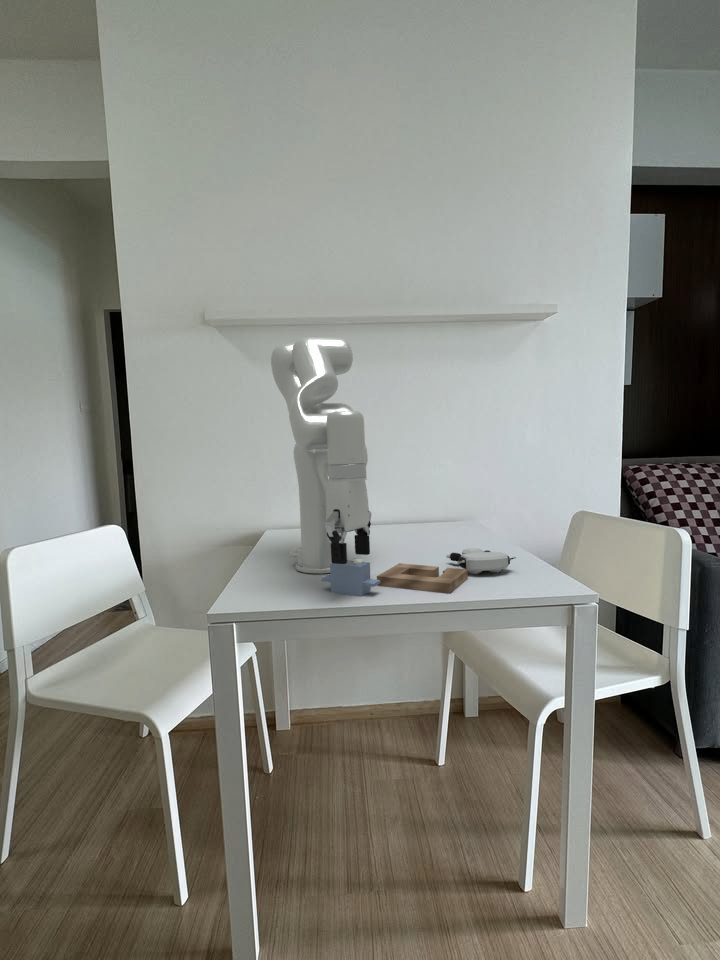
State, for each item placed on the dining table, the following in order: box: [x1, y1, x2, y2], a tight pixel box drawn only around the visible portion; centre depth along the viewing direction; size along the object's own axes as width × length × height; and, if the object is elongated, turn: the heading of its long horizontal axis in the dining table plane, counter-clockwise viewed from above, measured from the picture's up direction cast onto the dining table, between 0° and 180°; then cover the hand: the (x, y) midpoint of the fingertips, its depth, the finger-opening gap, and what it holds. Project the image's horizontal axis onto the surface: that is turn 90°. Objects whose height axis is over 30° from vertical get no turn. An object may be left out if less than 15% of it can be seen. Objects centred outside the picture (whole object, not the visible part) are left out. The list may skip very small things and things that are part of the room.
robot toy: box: [445, 547, 517, 575], centre depth 127 cm, size 12×4×15 cm
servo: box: [320, 557, 380, 597], centre depth 112 cm, size 12×4×7 cm, turn 63°
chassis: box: [376, 563, 469, 594], centre depth 117 cm, size 16×12×2 cm
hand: (351, 558), depth 110 cm, fingers open, 9 cm apart
